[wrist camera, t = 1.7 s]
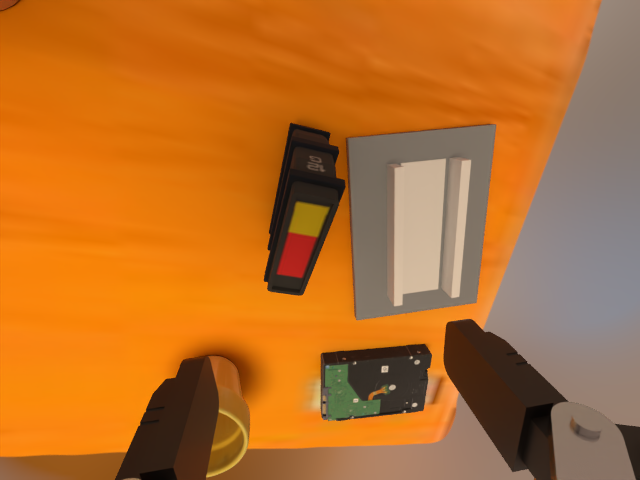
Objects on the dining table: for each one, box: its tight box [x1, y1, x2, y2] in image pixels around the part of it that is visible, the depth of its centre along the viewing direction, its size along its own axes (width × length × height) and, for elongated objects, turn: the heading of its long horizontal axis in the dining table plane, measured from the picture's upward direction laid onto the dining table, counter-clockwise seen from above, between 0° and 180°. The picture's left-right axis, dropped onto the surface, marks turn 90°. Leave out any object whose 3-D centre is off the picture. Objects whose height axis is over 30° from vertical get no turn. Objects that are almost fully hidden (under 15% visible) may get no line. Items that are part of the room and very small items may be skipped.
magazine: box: [264, 123, 345, 295], centre depth 30 cm, size 4×13×15 cm, turn 167°
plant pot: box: [206, 356, 250, 477], centre depth 38 cm, size 10×10×10 cm
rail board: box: [346, 124, 496, 320], centre depth 37 cm, size 22×16×4 cm
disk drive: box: [321, 344, 432, 421], centre depth 45 cm, size 10×3×15 cm
